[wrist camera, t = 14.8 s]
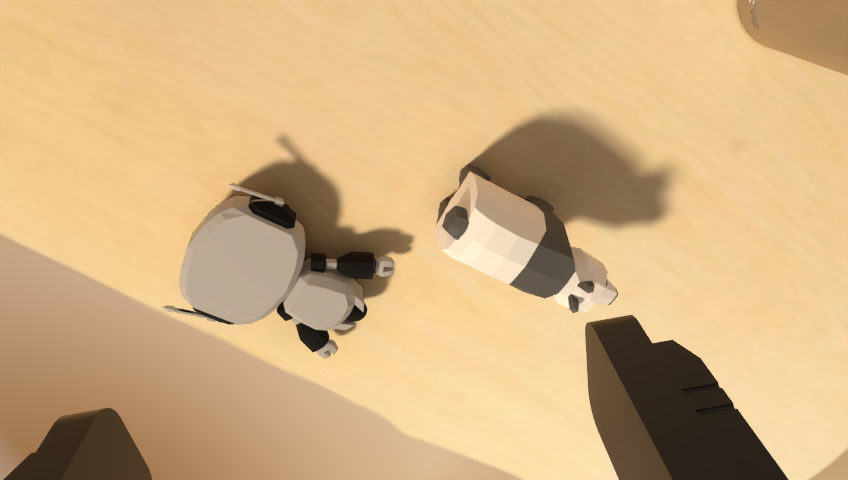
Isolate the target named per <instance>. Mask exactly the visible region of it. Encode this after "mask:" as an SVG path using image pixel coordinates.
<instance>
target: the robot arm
mask: <svg viewBox="0 0 848 480" xmlns="http://www.w3.org/2000/svg"><path fill="white" fill-rule="evenodd" d="M737 9H738V12H739V16H740V20H741V23H742V24H743V26H744V28H745V30H746V32H747V33H748V34H749V35H750V36H751V37H752V38H753V39H754V40H755V41H757V42H758V43H760V44H762V45H764V46H766V47H769V48H771V49H774V50H777V51H780V52H783V53H786V54H789V55H792V56H794V57H797V58H799V59H802V60H805V61H808V62H811V63H814V64H817V65H819V66H822V67H825V68H828V69H831V70H834V71H837V72H840V73H842V74H845V75H848V0H737ZM585 336H586V354H587V373H588V391H589V399H590V405H591V409H592V413H593V417H594V420H595V424H596V426H597V429H598V432H599V434H600V436H601V439H602V441H603V443H604V446H605V448H606V450H607V453H608V455H609V457H610V460H611V462H612V464H613V467H614V469H615V471H616V474H617V476H618V478H619V480H788V478H787V477H786V475H785V474H784V473H783V471H782V470H781V469H780V467H779V466H778V464H777V463H776V462H775V460H774V459H773V458H772V456H771V455H770V453H769V452H768V451H767V449H766V448H765V447H764V445H763V444H762V442H761V441H760V440H759V438H758V437H757V436H756V434H755V433H754V431H753V430H752V429H751V427H750V426H749V424H748V423H747V422H746V420H745V419H744V418H743V416H742V415H741V413H740V412H739V411H738V409H735V408H734V406H733V402H732V401H731V400H730V398H729V397H728V396H727V394H726V393H725V391H724V390H723V389H722V388H720V387H719V385H718V382H717V380H716V379H715V378H714V376H713V375H712V374H711V372H710V371H709V369H708V368H707V367H706V365H705V364H704V363H703V361H702V360H701V358H699V357H698V356H696V355H695V354H693V353H692V352H690V351H689V350H687V349H686V348H684V347H683V346H681V345H680V344H678V343H676V342H675V341H673V340H669V341H664V342H658V343H652V342H651V341H650V339H649V338H648V336H647V334H646V333H645V331H644V330H643V328H642V327H641V325H640V324H639V322H638V320H637V319H636V318H635V317H634V316H633V315H628V316H622V317H617V318H611V319H606V320H600V321H595V322H589V323H587V324H586V329H585ZM4 480H152V478H151V474H150V470H149V468H148V467H147V464H146V463H145V461H144V459H143V457H142V456H141V454H140V452H139V450H138V448H137V447H136V445H135V443H134V441H133V439H132V438H131V436H130V434H129V432H128V430H127V429H126V427H125V425H124V423H123V421H122V420H121V418H120V416H119V415H118V413H117V412H116V411H114V410H113V409H111V408H104V409H99V410H94V411H88V412H82V413H77V414H71V415H65V416H62V417H60V418H59V419H58V420H57V421H56V422H55V423H54V425H53V426H52V428H51V429H50V431H49V432H48V434H47V436H46V437H45V439H44V440H43V442H42V444H41V445H40V447H39V448H38V450H37V451H36V453H31V454H30V455H29V456H28V457H27V458H26V459H25V460H24V461H22V462H21V463H20V464H19V465H18V466H17V467H16V468H15V469H14V470H13V471H12V472H11V473H10V474H9V475H8V476H7V477H6V478H5V479H4Z"/></svg>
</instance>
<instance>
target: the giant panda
mask: <svg viewBox="0 0 848 480" xmlns="http://www.w3.org/2000/svg"><path fill="white" fill-rule="evenodd" d="M489 180H490V177H489V176H488V175H487V174H486V173H484V172H483V171H481V170H480V169H478V168H476V167H473V166H470V165H466V166H465V167H464V168H463V169H462V170H461V172H460V176H459V182H460V185H459V188H458V191H457V192H456V193H455V195H454V196H453V197H452V199H448V198H446V199H445V200H444V201H442V202H441V203H440V207H439V214H438V220H437V224H436V240H437V242H438V244H439V246H440V249H441V250H442V251H443V252H445V253H446V254H447V255H449V256H450V257H451V258H453V259H455V260H457V261H460V262H462V263H464V264H466V265H469V266H471V267H473V268H475V269H477V270H479V271H481V272H483V273H486V274H488V275H490V276H492V277H494V278H496V279H498V280H501V281H503V282H505V283H507V284H509V285H511V286H513V287H515V288H517V289H519V290H521V291H523V292H526V293H529V294H532V295H535V296H539V297H542V298H547V297H550V296H553V297H554V299H555V301H556V302H557V303H558V304H560V305H563V306H565V307H568V308H570V310H571V311H572V312H573V313H575V312H578V311H581V312H585V313H586V312H587V311H588V310H589V309H590V308H591V307H592V306H593V305H594V304H602V305H610V304H611V303H612V302H613V301H614V300H615V298H616V297H617V295H618V292H617V289H616V288H615V287H614V286H613V285H612V284H611V283H610V282H609V281H608V279H607V272H608V271H607V270H606V268H605V266H604V264H603V263H601V262H600V261H598V260H597V259H595V258H594V257H592V256H591V255H589V254H588V253H586V252H585V251H583V250H582V249H580V248H576V247H571V246H570V244H569V240H568V237H567V234H566V230H565V227H564V224H563V223H562V222H561V221H560V220H559V219H558V218H557V216H556V215H555V214H554V213H553V212H552V210H553V207H552V206H551V205H550V204H549V203H547V202H545V201H543V200H541V199H538V198H535V197H531V196H530V197H529V198H528V199H527V200H524V199H522V198H520V197H518V196H516V195H514V194H512V193H510V192H508V191H506V190H504V189H502V188H500V187H498V186H497V185H495V184H493V183H491V182H489Z"/></svg>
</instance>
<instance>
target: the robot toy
mask: <svg viewBox="0 0 848 480" xmlns="http://www.w3.org/2000/svg"><path fill="white" fill-rule="evenodd" d="M228 185H229V186H230V187H231V188H232V189H234V190H237V191H242V192H245V193H248V194H251V195H253V196H252V197H251V196H234V197H231V198H229V199H227V200H224V201H222V202H221V203H220V204H218V205H217V206H216V207H215V208H214V209H213V210H212V211H211V212H210V213H208V215H207V216H206V217H205V218H204V220H203V221H202V222H201V223H200V225H199V226H198V227H197V228H196V230H195V231H194V232H193V233H192V236H191V239H190V241H189V244H188V247H187V250H186V254H185V257H184V260H183V264H182V267H181V272H180V289H181V292H182V295H183V298H184V299H185V300H186V301H187V302H188V303H189V304H190V305H191V306H192V307H193V309H194V310H195V311H196V312H194V311H189V310H184V309H179V308H174V307H173V306H169V305H167V306H164V307H162V308H163V309H165V310H166V311H168V312H177V313H182V314H187V315H192V316H198V317H203V318H207V320H208V321H213V322H215V320H216V321H218V322H222V323H226V324H248V323H253V322H255V321H258V320H260V319H263V318H264V317H266V316H267V315H269V314H270V313H271V312H272V311H273V310H275V309H276V308H277V307H278V308H277V313H278V314H279V315H280V316H281V317H282V318H283V319H284V320H285V321H287V320H290V319H291V320H292V321H293V322H294V323H295V324H296V327H297V331H298V334H299V337H300V340H301V341H302V342H303V343H304V344H305V345H306V346H307V347H308V348H309V349H310V350H311V351H312V352H315V351H317V353H318V354H319V355H320V356H322V357H323V358H328V357H330V356H331V355H330V354H331V353H330V352H332V353H333V354H335V353H336V352H337V349H338V347H337V345H336V343H335V342H334V341H333V340H330V339H329V334H328V331H327V330H330V329H339V330H347V329H349V328H351V327H352V326H354V321H360V320H361V319H363V318H364V317H365V315H366V313H367V307H366V304H365V303H364V297H363V288H362V287H361V286H360V285H359V284H358V283H357V282H356V281H355V280H354V279H372V278H373V272H374V273H375V274H377V275H379V276H381V277H385V276H390V275H391V274H392V273H393V267H394V261H393V259H392V258H390V257H386V256H382V257H379V258H376V259H374V255H373V253H369V252H350V253H348V254H345V255H343V256H341V257H339V258H338V259H326V256H325V254H324V253H311V258H310V259H307V260H305V261H304V256H305V242H306V237H305V232H304V227H303V226H302V225H301V224H300V223H299V222H298V221H297V220H296V213H295V212H294V211H293V210H292V209H291V208H290V207H289V206H288V205H286V204H284V200H283V199H282V198H279V197H276V196H275V198H274V197H271V196H268V195H265V194H262V193H259V192H256V191H253V190H250V189H247V188H244V187H241V186H240V185H238V184H235V183H232V184H228ZM283 300H284V301H283ZM328 350H329V351H330V352H329V351H328Z"/></svg>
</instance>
